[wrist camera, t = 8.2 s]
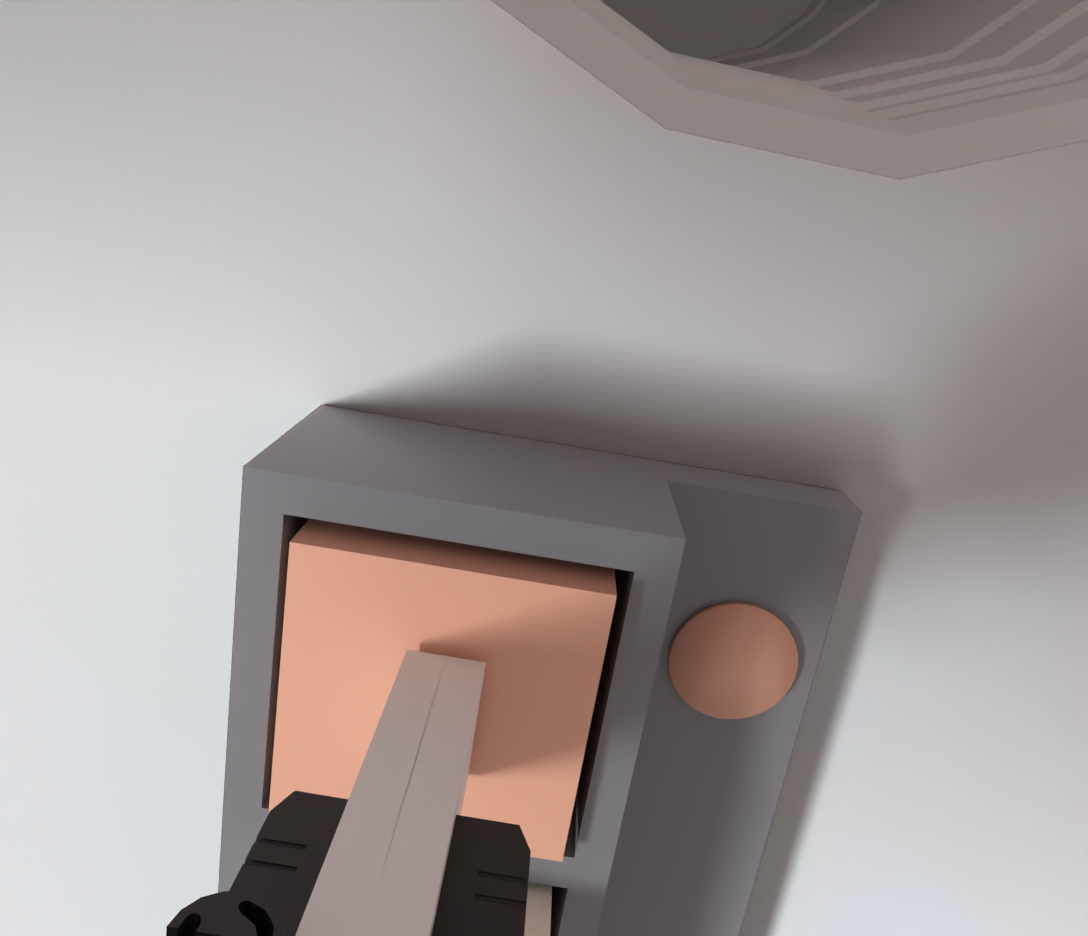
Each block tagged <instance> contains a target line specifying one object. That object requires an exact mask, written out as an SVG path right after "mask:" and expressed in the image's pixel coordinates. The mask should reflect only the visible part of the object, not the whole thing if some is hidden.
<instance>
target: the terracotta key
mask: <svg viewBox="0 0 1088 936" xmlns="http://www.w3.org/2000/svg"><path fill="white" fill-rule="evenodd" d="M616 598H617V591H616V581H615V570H614V568H608V567H601V566H595V565H589V564H583V563H577V562H571V561H565V560H559V559H553V558H547V557H541V556H535V555H529V554H522V553H516V552H510V551H504V550H498V549H492V548H486V547H480V546H474V545H468V544H462V543H456V542H450V541H444V540H437V539H431V538H425V537H419V536H413V535H407V534H401V533H395V532H389V531H383V530H377V529H371V528H365V527H358V526H352V525H346V524H340V523H334V522H328V521H322V520H316V519H309V520H308V521H307V522H306V523H305V524H304V526H303V527H302V528H301V529H300V530H299V532H298V533H297V534H296V535H295V536H294V537H293V539H292V540H291V541H290V544H289V557H288V570H287V582H286V595H285V608H284V621H283V634H282V646H281V659H280V672H279V685H278V698H277V711H276V723H275V736H274V749H273V762H272V775H271V787H270V800H269V812H270V811H271V810H272V809H273V808H274V807H275V806H277V805H278V804H279V803H280V802H282V801H283V800H284V799H285V798H286V797H288V796H289V795H290V794H291V793H292V792H294V791H301V792H307V793H313V794H319V795H325V796H331V797H337V798H343V799H349V797H350V794H351V792H352V789H353V786H354V784H355V781H356V779H357V776H358V774H359V771H360V769H361V766H362V763H363V761H364V758H365V756H366V753H367V751H368V748H369V746H370V743H371V740H372V738H373V735H374V733H375V730H376V728H377V725H378V722H379V720H380V717H381V715H382V712H383V710H384V707H385V705H386V702H387V699H388V697H389V694H390V692H391V689H392V687H393V684H394V682H395V679H396V676H397V674H398V671H399V669H400V666H401V664H402V661H403V659H404V656H405V653H406V651H407V650H414V651H420V652H426V653H432V654H438V655H444V656H450V657H456V658H462V659H468V660H474V661H480V662H486V666H485V672H484V678H483V685H482V691H481V697H480V703H479V710H478V716H477V722H476V729H475V735H474V741H473V747H472V754H471V760H470V766H469V772H468V779H467V785H466V790H465V795H464V800H463V805H462V810H461V816H467V817H473V818H479V819H486V820H492V821H498V822H504V823H510V824H516V825H520V828H521V830H522V832H523V835H524V837H525V839H526V841H527V844H528V846H529V848H530V851H531V854H530V857H535V858H541V859H547V860H553V861H559V862H562V860H563V855H564V851H565V846H566V841H567V836H568V831H569V826H570V821H571V817H572V812H573V807H574V802H575V797H576V792H577V787H578V783H579V778H580V773H581V768H582V763H583V758H584V753H585V749H586V744H587V739H588V734H589V729H590V724H591V719H592V715H593V710H594V705H595V700H596V695H597V690H598V685H599V681H600V676H601V671H602V666H603V661H604V656H605V651H606V647H607V642H608V637H609V632H610V627H611V622H612V617H613V613H614V608H615V603H616ZM268 814H269V813H268Z"/></svg>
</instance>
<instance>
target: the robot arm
mask: <svg viewBox="0 0 1088 936" xmlns="http://www.w3.org/2000/svg"><path fill="white" fill-rule="evenodd" d="M485 666H486V662H480V661H474V660H468V659H462V658H456V657H450V656H444V655H438V654H432V653H426V652H420V651H414V650H407V651H406V653H405V656H404V659H403V661H402V664H401V666H400V669H399V671H398V674H397V676H396V679H395V682H394V684H393V687H392V689H391V692H390V694H389V697H388V699H387V702H386V705H385V707H384V710H383V712H382V715H381V717H380V720H379V722H378V725H377V728H376V730H375V733H374V735H373V738H372V740H371V743H370V746H369V748H368V751H367V753H366V756H365V758H364V761H363V763H362V766H361V769H360V771H359V774H358V776H357V779H356V781H355V784H354V786H353V789H352V792H351V794H350V797H349V799H343V798H337V797H331V796H325V795H319V794H313V793H307V792H301V791H294V792H292V793H291V794H290V795H289V796H288V797H286V798H285V799H284V800H283V801H282V802H280V803H279V804H278V805H277V806H275V807H274V808H273V809H272V810H271V811H270V812H269V814H268V816H267V818H266V820H265V822H264V824H263V826H262V828H261V830H260V832H259V833H258V835H257V838H256V842H254V843H253V845H252V847H251V849H250V851H249V853H248V855H247V857H246V859H245V863H244V864H243V865H242V867H241V869H240V871H239V873H238V874H237V876H236V878H235V880H234V882H233V884H232V886H231V888H230V890H229V891H223V892H219V893H216V894H212V895H209V896H205V897H201V898H200V899H198V900H196V901H195V902H193V903H191V904H190V905H188V906H187V907H185V908H183V909H182V910H181V911H180V912H179V913H178V914H177V915H176V916H175V918H174V919H173V920H172V921H171V922H170V924H169V925H168V926H167V933H166V936H524V931H525V918H526V903H527V892H528V879H529V867H530V854H531V851H530V848H529V846H528V844H527V841H526V839H525V837H524V835H523V832H522V830H521V828H520V825H516V824H510V823H504V822H498V821H492V820H486V819H479V818H473V817H467V816H461V810H462V805H463V800H464V795H465V790H466V785H467V779H468V772H469V766H470V760H471V754H472V747H473V741H474V735H475V729H476V722H477V716H478V710H479V703H480V697H481V691H482V685H483V678H484V672H485Z"/></svg>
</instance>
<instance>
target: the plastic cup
mask: <svg viewBox="0 0 1088 936" xmlns="http://www.w3.org/2000/svg"><path fill="white" fill-rule="evenodd" d="M492 1H493V2H494V3H496V4H497V5H498V6H500V7H501V8H502V9H504V10H505V11H506V12H508V13H509V14H511V15H512V16H513V17H515V18H516V19H517V20H519V21H520V22H521V23H523V24H524V25H525V26H527V27H528V28H530V29H531V30H532V31H534V32H535V33H536V34H538V35H539V36H540V37H542V38H543V39H544V40H546V41H547V42H549V43H550V44H551V45H553V46H554V47H555V48H557V49H558V50H559V51H561V52H562V53H563V54H565V55H566V56H568V57H569V58H570V59H572V60H573V61H574V62H576V63H577V64H578V65H580V66H581V67H582V68H584V69H585V70H586V71H588V72H589V73H591V74H592V75H593V76H595V77H596V78H597V79H599V80H600V81H601V82H603V83H604V84H605V85H607V86H608V87H610V88H611V89H612V90H614V91H615V92H616V93H618V94H619V95H620V96H622V97H623V98H624V99H626V100H627V101H629V102H630V103H631V104H633V105H634V106H635V107H637V108H638V109H639V110H641V111H642V112H643V113H645V114H646V115H648V116H649V117H650V118H652V119H653V120H654V121H656V122H657V123H658V124H660V125H661V126H662V127H664V128H665V129H669V130H674V131H678V132H683V133H688V134H692V135H697V136H701V137H706V138H711V139H715V140H720V141H724V142H729V143H734V144H738V145H743V146H748V147H752V148H757V149H761V150H766V151H771V152H775V153H780V154H784V155H789V156H794V157H798V158H803V159H807V160H812V161H817V162H821V163H826V164H830V165H835V166H840V167H844V168H849V169H854V170H858V171H863V172H867V173H872V174H877V175H881V176H886V177H890V178H895V179H904V178H909V177H914V176H919V175H923V174H928V173H933V172H938V171H943V170H947V169H952V168H957V167H962V166H967V165H971V164H976V163H981V162H986V161H991V160H995V159H1000V158H1005V157H1010V156H1015V155H1019V154H1024V153H1029V152H1034V151H1039V150H1043V149H1048V148H1053V147H1058V146H1063V145H1067V144H1072V143H1077V142H1082V141H1087V140H1088V0H492Z"/></svg>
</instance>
